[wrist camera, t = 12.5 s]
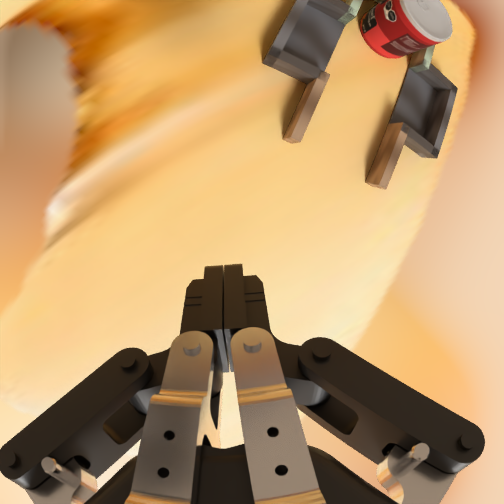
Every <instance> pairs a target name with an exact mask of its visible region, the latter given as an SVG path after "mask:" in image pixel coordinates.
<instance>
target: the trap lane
mask: <svg viewBox="0 0 504 504" xmlns="http://www.w3.org/2000/svg"><path fill="white" fill-rule="evenodd" d="M362 1H363V0H346V2H345V3H344V2H343V1H341V0H296V1H295V3H294V4H293V6H292V8H291V10H290V12H289V13H288V15H287V17H286V19H285V21H284V22H283V24H282V26H281V28H280V30H279V32H278V34H277V35H276V37H275V39H274V41H273V43H272V45H271V47H270V49H269V51H268V53H267V55H266V56H265V58H264V60H263V62H262V63H263V64H265V65H268V66H270V67H272V68H274V69H276V70H279V71H281V72H283V73H285V74H287V75H289V76H291V77H293V78H295V79H297V80H299V81H301V82H303V83H305V84H307V86H306V88H305V91H304V93H303V95H302V97H301V99H300V102H299V104H298V106H297V108H296V110H295V113H294V115H293V117H292V119H291V122H290V124H289V126H288V128H287V130H286V133H285V135H284V137H283V140H285V141H287V142H289V143H298V142H301V140H302V138H303V136H304V133H305V131H306V129H307V126H308V124H309V122H310V120H311V117H312V115H313V113H314V111H315V108H316V106H317V104H318V101H319V99H320V97H321V95H322V92H323V90H324V88H325V85H326V83H327V81H328V79H329V76H330V74H328V73H326V72H324V71H325V69H326V67H327V64H328V62H329V60H330V58H331V55H332V53H333V51H334V49H335V47H336V44H337V42H338V40H339V38H340V36H341V33H342V31H343V29H344V27H345V25H346V24H347V23H348V22H350V21H351V20H352V19H353V18H355V17H356V15H357V13H358V10H359V8H360V6H361V4H362ZM374 1H376V2H377V3H380V2H381V1H383V0H374ZM434 47H435V45H433V46H430V47H427V48H424V49H421V50H418V51H416V52H413V54H412V57H411V61H410V64H409V67H408V70H407V73H406V76H405V79H404V82H403V85H402V88H401V91H400V94H399V96H398V99H397V102H396V105H395V108H394V110H393V113H392V116H391V119H390V121H389V124H388V127H387V129H386V132H385V134H384V137H383V140H382V142H381V145H380V147H379V150H378V152H377V155H376V157H375V160H374V162H373V165H372V167H371V169H370V172H369V174H368V177H367V179H366V181H365V183H367V184H369V185H371V186H373V187H378V188H382V189H386V188H387V186H388V184H389V181H390V179H391V176H392V174H393V171H394V169H395V166H396V164H397V161H398V159H399V156H400V153H401V151H402V148H403V145H404V144H405V145H406V146H407V147H409V148H410V149H411V150H413V151H414V152H415V153H417V154H418V155H419V156H421V157H426V158H437V157H438V154H439V151H440V148H441V145H442V142H443V139H444V136H445V132H446V129H447V126H448V122H449V119H450V115H451V112H452V108H453V104H454V101H455V97H456V93H457V89H458V88H457V87H456V86H455V85H454V84H453V83H452V82H451V81H449V80H448V79H447V78H446V77H445V76H444V75H443V74H442V73H441V72H440V71H439V70H438V69H436V68H435V67H434V66H433V65H432V64H431V63H430V62H431V59H432V55H433V51H434Z"/></svg>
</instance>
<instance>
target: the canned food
mask: <svg viewBox="0 0 504 504" xmlns="http://www.w3.org/2000/svg"><path fill="white" fill-rule="evenodd" d="M360 29H361V33H362V36H363V38H364V40H365V41H366V43H367V44H368V45H369V47H370V48H371V49H372V50H374V51H375V52H376V53H378V54H379V55H381V56H383V57H386V58H400V57H403V56H405V55H408V54H410V53H413V52H416V51H418V50H421V49H424V48H427V47H430V46H433V45H436V44H438V43H441V42H443V41H446V40H447V39H449V38H450V37H451V34H452V23H451V19H450V17H449V14H448V12H447V10H446V9H445V7H444V6H443V4H442V3H441V2H440V0H383V1H381V2H380V3H379V4H377V5H376V6H375V7H373V8H372V9H370V10H369V11H368V12H367V13H365V14H364V16H363V17H362V20H361V23H360Z"/></svg>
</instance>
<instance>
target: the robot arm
mask: <svg viewBox="0 0 504 504" xmlns="http://www.w3.org/2000/svg"><path fill="white" fill-rule="evenodd" d="M229 363H230V369H231V372H234V375H235V382H236V389H237V397H238V404H239V411H240V417H241V424H242V431H243V437H244V443H245V444H242V445H238V446H234V447H231V448H227V449H221V443H220V421H221V408H222V394H223V388H222V385H223V372H229ZM297 408H298V409H299V410H301V411H302V412H303V413H305V414H306V415H307V416H309V417H310V418H311V419H313V420H314V421H315V422H317V423H318V424H319V425H321V426H322V427H323V428H325V429H326V430H328V431H329V432H330V433H332V434H333V435H335V436H336V437H337V438H339V439H341V440H342V441H343V442H345V443H346V444H347V445H349V446H350V447H352V448H353V449H355V450H356V451H358V452H359V453H361V454H362V455H364V456H365V457H367V458H368V459H370V460H371V461H373V462H374V463H376V464H378V467H377V473H376V474H377V479H378V481H379V483H380V484H381V485H382V486H383V487H384V488H385V489H386V490H387V491H388V493H389V495H390V498H389V497H388V496H386V495H385V494H383V493H382V492H380V491H379V490H378V489H376V488H375V487H373V486H372V485H370V484H369V483H367V482H366V481H364V480H363V479H362V478H360V477H359V476H358V475H356V474H355V473H354V472H352V471H351V470H349V469H348V468H347V467H346V466H344V465H343V464H342V463H340V462H339V461H338V460H336V459H335V458H334V457H332V456H331V455H329V454H328V453H326V452H324V451H322V450H320V449H318V448H315V447H312V446H309V445H307V443H306V439H305V436H304V432H303V429H302V425H301V422H300V418H299V415H298V411H297ZM140 439H141V442H140V447H139V452H138V455H137V456H135V457H134V458H132V459H131V460H130V461H128V462H127V463H126V464H125V465H124V466H123V467H122V468H121V469H120V470H119V471H118V472H117V473H116V474H115V475H114V476H113V477H112V478H111V479H110V480H109V481H108V482H107V483H105V484H104V485H103V486H102V487H101V488H100V489H99V490H97V481H96V479H97V478H98V477H99V476H100V475H101V474H103V473H104V472H105V471H106V470H107V469H108V468H109V467H110V466H112V465H113V464H114V463H115V462H116V461H117V460H118V459H119V458H121V457H122V456H123V455H124V454H125V453H126V452H127V451H128V450H129V449H130V448H131V447H133V446H134V445H135V444H136V443H137V442H138V441H139V440H140ZM484 446H485V439H484V435H483V433H482V431H481V429H480V428H479V427H478V426H476V425H475V424H474V423H472V422H470V421H468V420H466V419H465V418H463V417H461V416H459V415H457V414H456V413H454V412H452V411H450V410H449V409H447V408H445V407H443V406H442V405H440V404H438V403H436V402H435V401H433V400H431V399H429V398H428V397H426V396H424V395H423V394H421V393H419V392H417V391H416V390H414V389H412V388H411V387H409V386H407V385H406V384H404V383H402V382H401V381H399V380H397V379H395V378H393V377H392V376H390V375H389V374H387V373H385V372H384V371H382V370H380V369H379V368H377V367H375V366H374V365H372V364H370V363H369V362H367V361H366V360H364V359H362V358H361V357H359V356H357V355H356V354H354V353H353V352H351V351H349V350H348V349H346V348H345V347H343V346H341V345H340V344H338V343H336V342H335V341H333V340H331V339H328V338H323V337H317V338H312V339H309V340H307V341H306V342H304V343H303V344H302V346H298V345H292V344H287V343H284V342H282V341H280V340H278V339H277V338H276V337H275V336H274V335H273V334H272V332H271V330H270V325H269V318H268V312H267V306H266V301H265V294H264V287H263V282H262V281H261V280H260V279H259V278H258V277H257V276H256V275H252V276H243V268H242V264H232V265H224V268H223V265H219V266H205V271H204V279H196V280H192V282H191V283H190V284H189V286H188V287H187V289H186V296H185V302H184V309H183V315H182V322H181V329H180V335H179V336H177V337H176V338H175V339H174V341H173V342H172V345H171V347H170V348H169V349H167V350H165V351H163V352H159V353H156V354H152V355H149V356H147V354H146V353H145V352H144V351H143V350H141V349H138V348H126V349H123V350H121V351H119V352H118V353H116V354H115V355H114V356H113V357H111V358H110V359H109V360H108V361H106V362H105V363H104V364H103V365H101V366H100V367H99V368H98V369H96V370H95V371H94V372H93V373H92V374H90V375H89V376H88V377H87V378H85V379H84V380H83V381H82V382H80V383H79V384H78V385H77V386H75V387H74V388H73V389H72V390H71V391H69V392H68V393H67V394H66V395H64V396H63V397H62V398H61V399H59V400H58V401H57V402H56V403H55V404H53V405H52V406H51V407H50V408H48V409H47V410H46V411H45V412H44V413H42V414H41V415H40V416H39V417H37V418H36V419H35V420H34V421H33V422H31V423H30V424H29V425H28V426H26V427H25V428H24V429H23V430H22V431H20V432H19V433H18V434H17V435H16V436H14V437H13V438H12V439H11V440H9V441H8V442H7V443H6V444H4V446H2V448H1V449H0V471H1V473H2V474H3V475H4V476H5V477H6V478H8V479H10V480H11V481H13V482H15V483H16V484H18V485H19V486H20V487H22V488H23V489H25V490H26V492H27V493H28V495H29V496H30V498H31V499H32V501H33V503H34V504H439V503H440V502H441V500H442V498H443V497H444V495H445V494H446V492H447V490H448V489H449V487H450V485H451V484H452V482H453V480H454V478H455V477H456V475H457V473H458V472H459V471H461V470H462V469H464V468H465V467H467V466H468V465H469V464H471V463H472V462H474V461H475V460H476V459H478V458H479V457H480V455H481V454H482V452H483V449H484Z"/></svg>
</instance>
